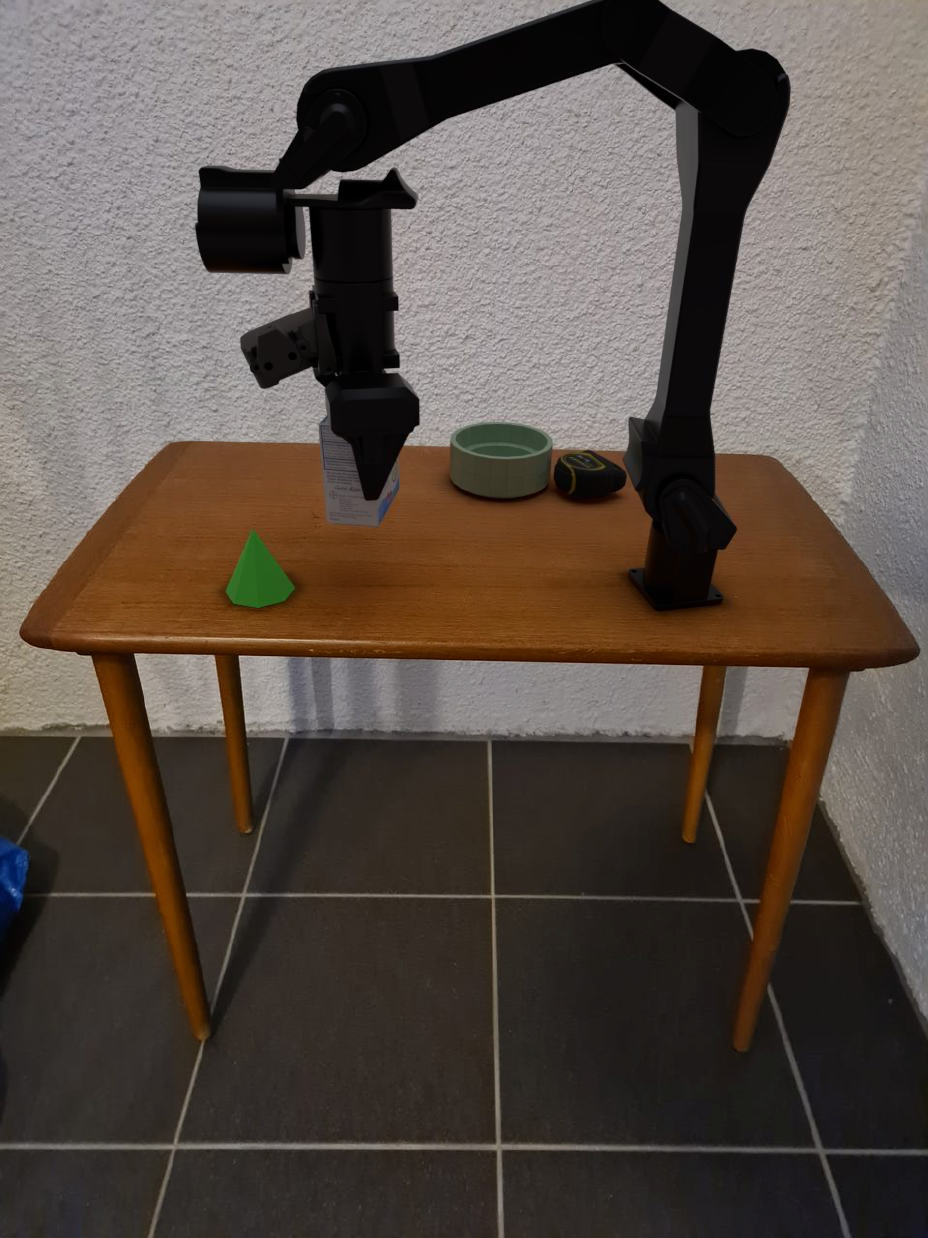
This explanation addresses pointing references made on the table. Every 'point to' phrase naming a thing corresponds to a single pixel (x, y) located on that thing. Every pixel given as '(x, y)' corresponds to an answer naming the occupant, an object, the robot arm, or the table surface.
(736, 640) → the table surface
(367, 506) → the medicine box
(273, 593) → the green faceted cone
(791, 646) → the table surface
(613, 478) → the tape measure
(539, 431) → the bowl
